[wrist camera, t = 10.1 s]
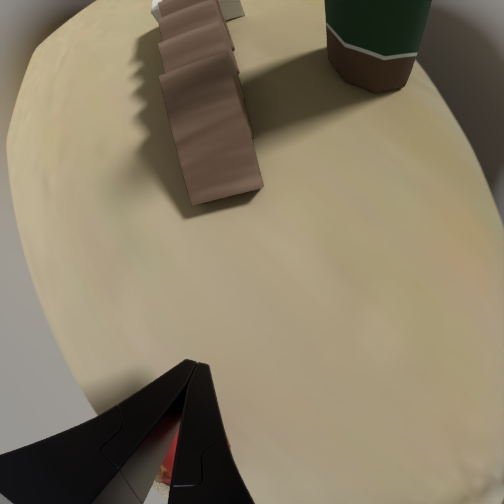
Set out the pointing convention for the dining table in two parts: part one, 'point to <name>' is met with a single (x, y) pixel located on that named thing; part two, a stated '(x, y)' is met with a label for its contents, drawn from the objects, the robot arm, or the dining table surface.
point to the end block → (228, 5)
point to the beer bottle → (375, 40)
